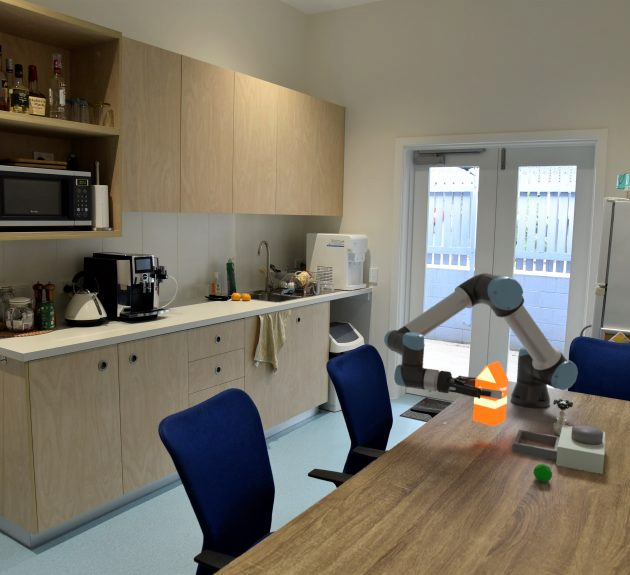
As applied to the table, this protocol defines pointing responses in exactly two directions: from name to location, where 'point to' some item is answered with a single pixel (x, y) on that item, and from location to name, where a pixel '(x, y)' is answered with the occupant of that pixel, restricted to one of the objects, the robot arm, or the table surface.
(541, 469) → the polyhedron
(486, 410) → the orange juice
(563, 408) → the valve
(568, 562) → the table surface
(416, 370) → the robot arm
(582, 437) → the grey boxy fixture
